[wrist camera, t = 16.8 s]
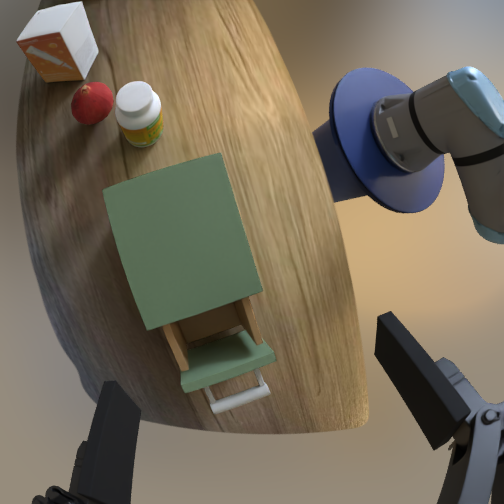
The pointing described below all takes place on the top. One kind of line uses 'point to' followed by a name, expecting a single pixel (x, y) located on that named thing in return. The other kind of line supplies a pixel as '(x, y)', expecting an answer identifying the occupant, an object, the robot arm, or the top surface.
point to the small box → (59, 43)
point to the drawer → (220, 352)
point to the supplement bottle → (139, 114)
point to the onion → (92, 103)
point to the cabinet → (181, 240)
